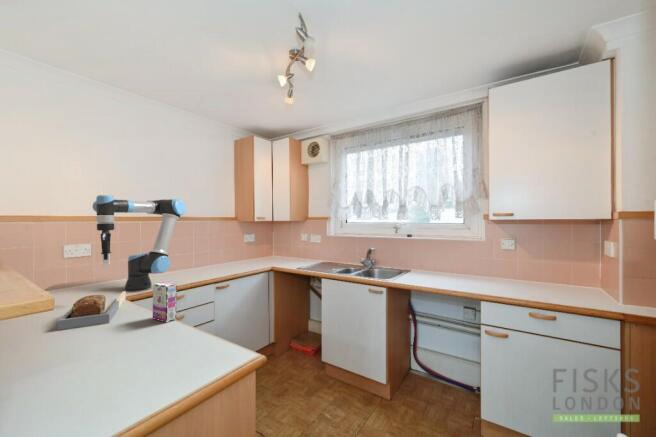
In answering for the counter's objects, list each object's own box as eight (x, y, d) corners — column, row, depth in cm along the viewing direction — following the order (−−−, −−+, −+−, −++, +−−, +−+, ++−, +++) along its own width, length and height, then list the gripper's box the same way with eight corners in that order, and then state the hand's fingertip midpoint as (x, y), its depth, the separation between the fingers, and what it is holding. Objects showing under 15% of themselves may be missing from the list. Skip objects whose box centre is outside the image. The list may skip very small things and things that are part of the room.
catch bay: (125, 297, 161) (125, 291, 161) (109, 322, 121) (109, 314, 121) (88, 302, 153) (88, 294, 153) (57, 330, 113) (57, 320, 113)
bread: (101, 321, 123) (101, 299, 123) (69, 326, 117) (69, 303, 117) (106, 310, 139) (106, 291, 139) (78, 314, 133) (78, 294, 133)
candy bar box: (177, 319, 126) (177, 284, 126) (166, 323, 121) (166, 286, 121) (162, 315, 131) (162, 281, 131) (151, 318, 126) (152, 283, 127)
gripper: (99, 223, 154) (100, 264, 154) (94, 223, 143) (95, 268, 143) (116, 222, 158) (116, 262, 158) (112, 223, 147) (112, 266, 147)
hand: (106, 265), depth 151 cm, fingers closed
